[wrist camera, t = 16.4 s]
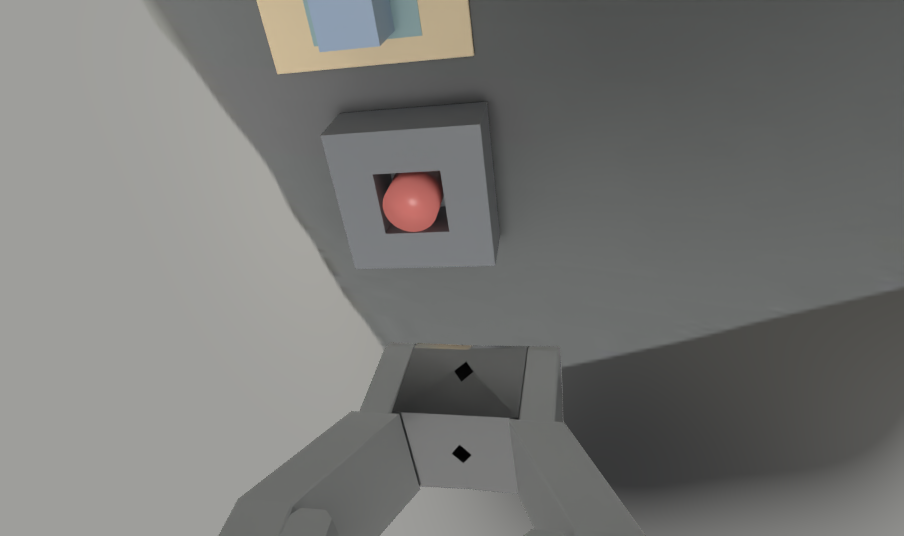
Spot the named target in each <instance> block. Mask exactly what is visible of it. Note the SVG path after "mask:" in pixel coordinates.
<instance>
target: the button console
mask: <svg viewBox="0 0 904 536" xmlns="http://www.w3.org/2000/svg"><path fill="white" fill-rule="evenodd" d="M321 140H322V143H323V147H324V151H325V155H326V159H327V163H328V166H329V170H330V174H331V178H332V182H333V186H334V189H335V193H336V197H337V201H338V205H339V209H340V212H341V216H342V220H343V224H344V228H345V231H346V235H347V239H348V243H349V247H350V251H351V254H352V258H353V262H354V266H355V269H380V268H423V267H466V266H495V264H496V258H497V251H498V245H499V239H500V229H499V219H498V209H497V198H496V188H495V178H494V168H493V158H492V147H491V137H490V127H489V117H488V106H487V102H477V103H464V104H451V105H438V106H425V107H412V108H400V109H387V110H374V111H361V112H348V113H340V114H339V115H338V116H337V117H336V118H335V119H334V121H333V122H332V123H331V124H330V125H329V126H328V127H327V129H326V130H325V131H324V132H323V133H322V134H321ZM426 171H440V173H441V180H442V186H443V193H444V197H443V200H442V203H441V205H440V208H439V211H438V214H437V217H436V219H435V221H434V223H433V224H432V225H431V226H430V227H428V228H427V229H425V230H422V231H418V232H409V231H404V230H401V229H399V228H397V227H396V226H394V225H393V224H392V223H391V222H390V221H389V220H388V219H387V217H386V215H385V213H384V210H383V198H384V195H385V193H386V191H387V189H388V188H389V186H390V184H391V182H392V180H393V178H394V176H395V174H396V173H408V172H426Z"/></svg>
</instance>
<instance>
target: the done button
mask: <svg viewBox="0 0 904 536" xmlns="http://www.w3.org/2000/svg"><path fill="white" fill-rule="evenodd" d="M443 197H444V193H443V186H442V180H441V173H440V171H426V172H408V173H396V174H395V176H394V178H393V180H392V182H391V184H390V186H389V188H388V189H387V191H386V193H385V195H384V198H383V210H384V213H385V215H386V217H387V219H388V220H389V221H390V222H391V223H392V224H393V225H394V226H396V227H397V228H399V229H401V230H404V231H409V232H418V231H422V230H425V229H427V228H428V227H430V226H431V225H432V224H433V223H434V221H435V219H436V217H437V214H438V211H439V208H440V205H441V203H442V200H443Z"/></svg>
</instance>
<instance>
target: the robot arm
mask: <svg viewBox="0 0 904 536" xmlns="http://www.w3.org/2000/svg"><path fill="white" fill-rule="evenodd" d="M419 486H422V487H441V488H461V489H475V490H483V491H492V492H502V493H512V494H518V495H519V499H520V501H521V502H522V505H523V507H524V508H525V511H526V513H527V515H528V517H529V519H530V521H531V523H532V525H533V527H534V529H531V530H530V531H529V532H527V533H526V534H525V535H524V536H645V534H644V533H643V531H642V530H641V529H640V527H639V526H638V524H637V523H636V522H635V520H634V519H633V518H632V516H631V515H630V513H629V512H628V511H627V509H626V508H625V506H624V505H623V504H622V502H621V501H620V499H619V498H618V497H617V495H616V494H615V492H614V491H613V490H612V488H611V487H610V485H609V484H608V483H607V481H606V480H605V479H604V477H603V476H602V474H601V473H600V472H599V470H598V469H597V467H596V466H595V465H594V463H593V462H592V460H591V459H590V458H589V456H588V455H587V454H586V452H585V451H584V449H583V448H582V446H581V445H580V444H579V442H578V441H577V439H576V438H575V437H574V435H573V434H572V433H571V431H570V430H569V428H568V427H567V426H566V424H565V423H564V422H563V393H562V372H561V352H560V348H559V347H558V346H477V345H473V346H469V345H448V344H426V343H417V344H412V343H393V342H391V343H390V344H389V345H388V346H387V347H386V348H385V349H384V352H383V354H382V357H381V359H380V362H379V364H378V367H377V369H376V371H375V374H374V377H373V379H372V381H371V384H370V387H369V389H368V391H367V394H366V396H365V399H364V401H363V404H362V406H361V409H360V411H359V412H356V411H355V412H354V411H351V412H350V413H349V414H347V415H346V416H345V417H343V418H342V419H341V420H340V421H338V422H337V423H336V424H334V425H333V426H332V427H331V428H329V429H328V430H327V431H325V432H324V433H323V434H321V435H320V436H319V437H317V438H316V439H315V440H314V441H312V442H311V443H310V444H309V445H307V446H306V447H305V448H303V449H302V450H301V451H300V452H298V453H297V454H296V455H294V456H293V457H292V458H290V460H288V461H287V462H285V463H284V464H283V465H282V466H280V467H279V468H278V469H276V470H275V471H274V472H272V473H271V474H270V475H268V476H267V477H266V478H265V479H263V480H262V481H261V482H260V483H258V484H257V485H256V486H254V487H253V488H252V489H250V490H249V491H248V492H247V493H245V494H244V495H243V496H241V497H240V498H239V499H238V500H237V502H236V504H235V506H234V508H233V509H232V511H231V513H230V515H229V517H228V519H227V521H226V523H225V525H224V526H223V528H222V530H221V532H220V534H219V536H380V535H381V533H382V532H383V531H384V530H385V529H386V528H387V527H388V525H389V524H390V523H391V522H392V521H393V520H394V519H395V517H396V516H397V515H398V514H399V513H400V512H401V511H402V509H403V508H404V507H405V506H406V505H407V504H408V503H409V501H410V500H411V499H412V498H413V497H414V496H415V495H416V493H417V492H418V491H419V490H420V487H419Z"/></svg>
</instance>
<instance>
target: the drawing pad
mask: <svg viewBox="0 0 904 536" xmlns="http://www.w3.org/2000/svg"><path fill="white" fill-rule="evenodd" d="M389 1H390V7H391V13H392V18H393V24H394V30H395V31H394V32H393V33H392V34H391V35H390V36H389V38H388V39H387V40H386V41H385V42H384V43H383V44H382V45H381V46H378V47H368V48H358V49H348V50H338V51H328V52H319V48H318V43H317V39H316V35H315V31H314V27H313V23H312V19H311V15H310V10H309V6H308V2H307V0H257V4H258V7H259V11H260V14H261V18H262V21H263V25H264V28H265V32H266V35H267V39H268V42H269V46H270V49H271V53H272V56H273V60H274V63H275V67H276V70H277V74H285V73H296V72H306V71H317V70H328V69H339V68H349V67H360V66H371V65H381V64H392V63H403V62H413V61H424V60H435V59H446V58H456V57H467V56H474V47H473V37H472V28H471V18H470V9H469V0H389Z"/></svg>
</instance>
